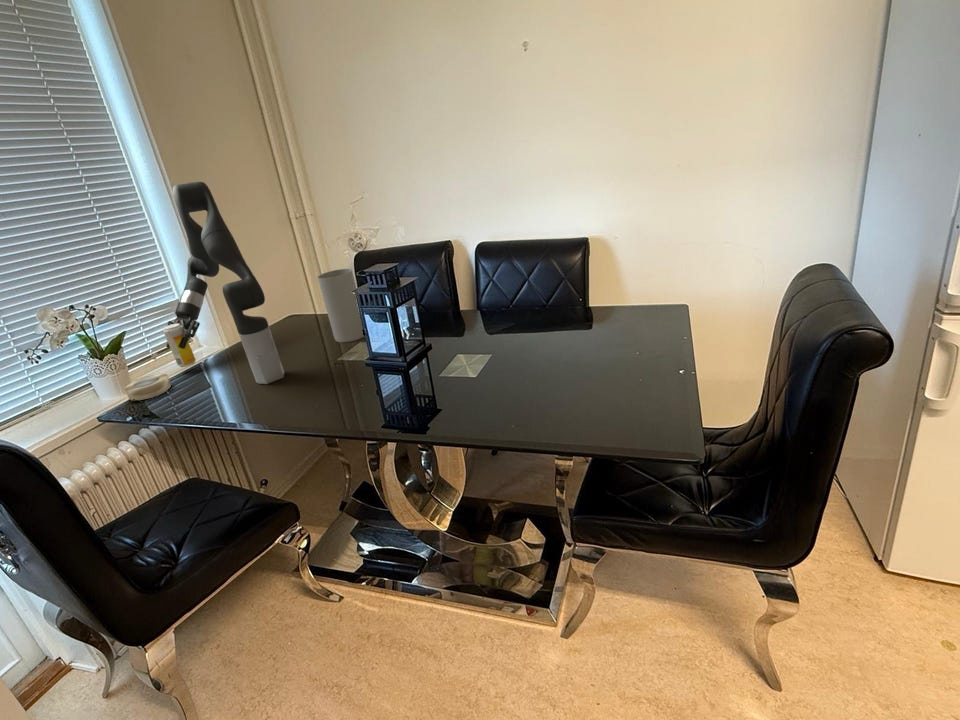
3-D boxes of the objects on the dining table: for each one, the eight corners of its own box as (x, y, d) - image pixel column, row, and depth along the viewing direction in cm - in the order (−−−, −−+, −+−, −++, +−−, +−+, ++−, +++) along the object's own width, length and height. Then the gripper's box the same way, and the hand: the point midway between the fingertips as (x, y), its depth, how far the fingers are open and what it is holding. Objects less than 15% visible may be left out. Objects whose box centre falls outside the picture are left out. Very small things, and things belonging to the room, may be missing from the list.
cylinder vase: (354, 329, 207) (338, 268, 197) (374, 332, 199) (358, 269, 189) (328, 341, 198) (310, 277, 189) (348, 345, 191) (330, 279, 181)
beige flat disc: (175, 390, 176) (170, 379, 174) (132, 405, 169) (126, 394, 167) (168, 380, 185) (163, 369, 184) (127, 394, 179) (122, 384, 177)
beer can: (199, 360, 192) (184, 322, 187) (190, 366, 187) (173, 328, 181) (185, 361, 193) (169, 324, 187) (174, 368, 188) (158, 330, 182)
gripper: (167, 301, 191) (152, 344, 185) (195, 300, 185) (180, 344, 180) (184, 310, 197) (170, 352, 192) (212, 309, 192) (198, 351, 186)
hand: (175, 347), depth 186 cm, fingers closed on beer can, 5 cm apart
